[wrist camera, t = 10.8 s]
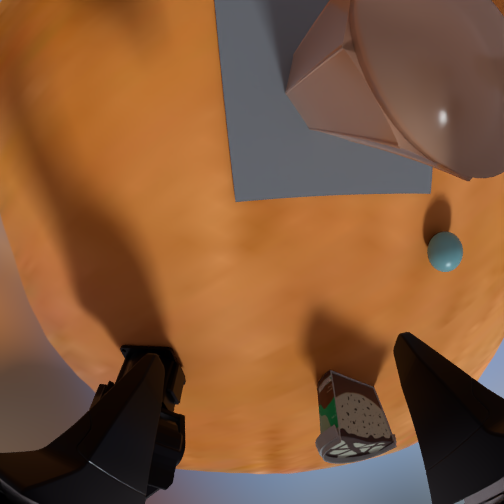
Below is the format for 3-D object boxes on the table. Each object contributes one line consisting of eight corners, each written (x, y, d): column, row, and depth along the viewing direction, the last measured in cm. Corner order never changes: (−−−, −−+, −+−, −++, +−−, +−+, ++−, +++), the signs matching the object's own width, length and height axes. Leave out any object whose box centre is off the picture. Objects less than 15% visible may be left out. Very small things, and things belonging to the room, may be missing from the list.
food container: (286, 391, 31) (293, 461, 22) (321, 366, 28) (337, 442, 19) (348, 410, 34) (360, 465, 25) (379, 388, 32) (398, 446, 23)
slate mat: (236, 199, 20) (235, 202, 19) (215, -1, 12) (214, -4, 12) (426, 191, 19) (430, 193, 19) (415, 15, 12) (419, 13, 11)
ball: (417, 261, 22) (436, 281, 19) (424, 226, 20) (446, 243, 17) (444, 258, 22) (464, 276, 19) (451, 224, 20) (473, 240, 17)
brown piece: (324, 155, 18) (437, 223, 6) (266, 68, 15) (294, -28, 3) (402, 112, 16) (547, 134, 4) (351, 28, 13) (463, -45, 1)
